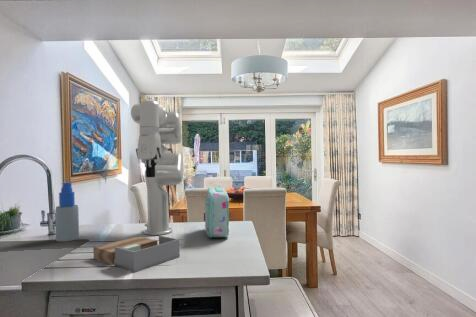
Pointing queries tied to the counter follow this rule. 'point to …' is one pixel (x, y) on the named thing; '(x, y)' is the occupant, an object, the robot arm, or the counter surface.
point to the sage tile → (133, 247)
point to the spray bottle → (67, 215)
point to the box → (147, 255)
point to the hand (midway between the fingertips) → (150, 177)
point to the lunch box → (216, 212)
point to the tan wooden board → (108, 250)
